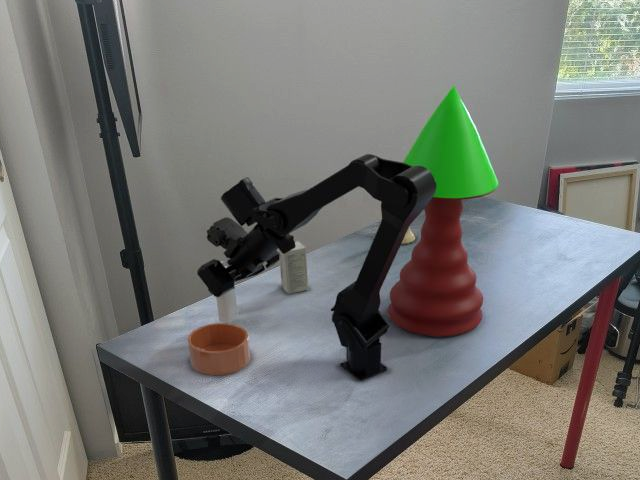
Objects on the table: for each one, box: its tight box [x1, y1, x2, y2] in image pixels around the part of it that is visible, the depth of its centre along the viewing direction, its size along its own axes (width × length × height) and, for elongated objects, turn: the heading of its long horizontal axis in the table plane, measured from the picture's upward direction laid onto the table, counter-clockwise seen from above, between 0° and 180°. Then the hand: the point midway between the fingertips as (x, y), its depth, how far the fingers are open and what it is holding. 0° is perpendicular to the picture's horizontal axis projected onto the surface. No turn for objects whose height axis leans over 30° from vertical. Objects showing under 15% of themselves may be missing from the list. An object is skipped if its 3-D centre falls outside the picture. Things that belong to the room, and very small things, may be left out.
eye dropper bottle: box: [215, 260, 239, 324], centre depth 144 cm, size 4×6×12 cm
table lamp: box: [387, 85, 499, 338], centre depth 140 cm, size 20×20×45 cm
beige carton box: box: [278, 240, 309, 295], centre depth 160 cm, size 5×4×10 cm
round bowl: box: [187, 322, 251, 376], centre depth 136 cm, size 11×11×5 cm
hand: (219, 285), depth 145 cm, fingers closed on eye dropper bottle, 5 cm apart
